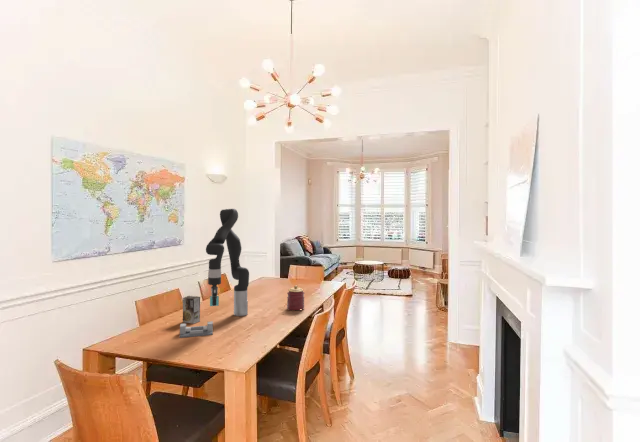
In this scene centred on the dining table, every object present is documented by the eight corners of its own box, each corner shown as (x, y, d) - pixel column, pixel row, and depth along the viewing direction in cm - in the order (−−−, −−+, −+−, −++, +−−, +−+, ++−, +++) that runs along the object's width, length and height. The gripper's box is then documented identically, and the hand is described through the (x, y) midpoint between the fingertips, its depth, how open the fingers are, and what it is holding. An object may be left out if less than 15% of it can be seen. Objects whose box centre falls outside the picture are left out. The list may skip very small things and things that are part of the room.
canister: (283, 309, 252) (284, 286, 251) (291, 305, 264) (292, 283, 263) (299, 311, 247) (300, 287, 246) (307, 307, 259) (307, 284, 259)
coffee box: (200, 321, 223) (200, 296, 222) (193, 324, 217) (194, 298, 216) (189, 319, 226) (189, 295, 225) (182, 322, 220) (182, 297, 219)
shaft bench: (212, 328, 209) (212, 319, 209) (212, 334, 198) (212, 325, 198) (181, 330, 203) (181, 322, 203) (179, 337, 192) (179, 328, 192)
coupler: (218, 303, 209) (218, 295, 209) (218, 305, 204) (218, 297, 204) (209, 304, 207) (210, 296, 207) (209, 306, 203) (210, 297, 203)
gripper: (221, 278, 200) (221, 306, 200) (220, 274, 214) (220, 301, 214) (208, 278, 198) (207, 307, 198) (208, 274, 211) (207, 301, 211)
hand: (214, 304), depth 206 cm, fingers closed on coupler, 5 cm apart
